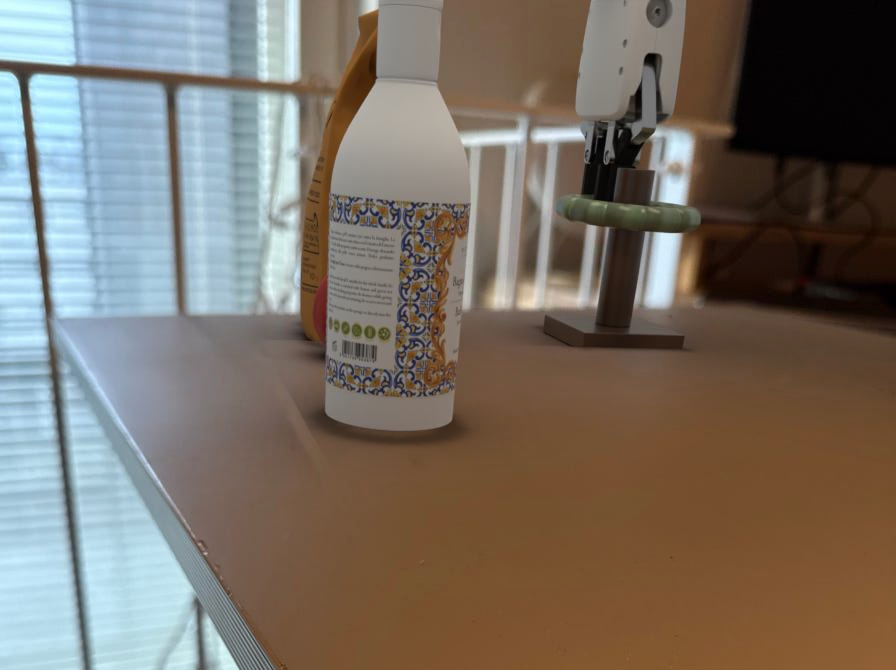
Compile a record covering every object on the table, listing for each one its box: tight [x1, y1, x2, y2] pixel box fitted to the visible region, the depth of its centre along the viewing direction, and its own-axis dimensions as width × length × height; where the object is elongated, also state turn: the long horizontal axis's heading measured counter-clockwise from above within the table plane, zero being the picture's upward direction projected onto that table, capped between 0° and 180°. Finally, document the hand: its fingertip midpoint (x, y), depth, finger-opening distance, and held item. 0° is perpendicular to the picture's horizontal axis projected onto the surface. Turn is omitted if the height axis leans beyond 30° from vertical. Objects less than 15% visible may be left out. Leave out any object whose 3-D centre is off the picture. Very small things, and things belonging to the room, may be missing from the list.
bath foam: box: [324, 0, 472, 432], centre depth 48 cm, size 7×7×20 cm
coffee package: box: [299, 8, 379, 342], centre depth 72 cm, size 10×12×22 cm
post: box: [542, 168, 686, 350], centre depth 80 cm, size 9×9×14 cm
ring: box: [555, 193, 702, 234], centre depth 78 cm, size 12×12×2 cm
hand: (603, 214), depth 83 cm, fingers closed on ring, 2 cm apart
